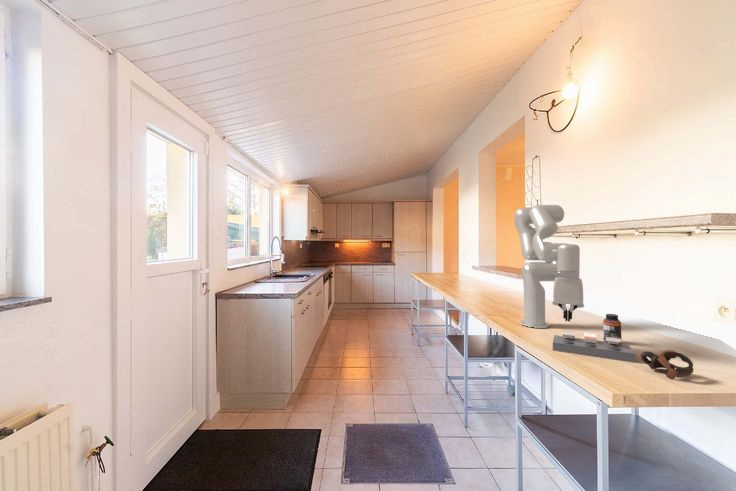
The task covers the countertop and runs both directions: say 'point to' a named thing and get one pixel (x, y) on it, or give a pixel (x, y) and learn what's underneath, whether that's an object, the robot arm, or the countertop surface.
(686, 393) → the countertop surface
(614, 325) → the supplement bottle
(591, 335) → the rocker middle
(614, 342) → the rocker
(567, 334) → the rocker
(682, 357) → the brown linked rings
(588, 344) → the power strip
